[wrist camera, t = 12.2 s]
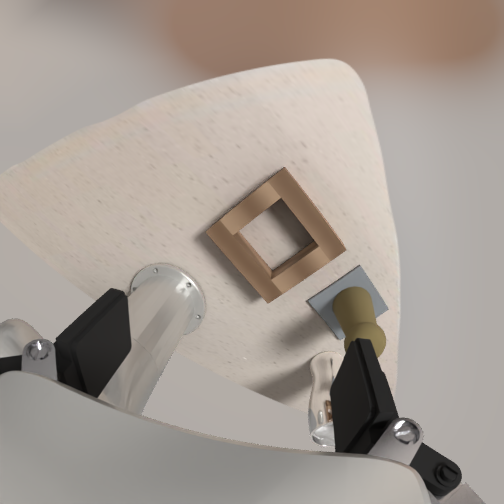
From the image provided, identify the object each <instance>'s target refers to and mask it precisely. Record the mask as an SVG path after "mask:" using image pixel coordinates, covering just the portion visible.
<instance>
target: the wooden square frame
mask: <svg viewBox="0 0 504 504" xmlns="http://www.w3.org/2000/svg"><path fill="white" fill-rule="evenodd" d="M280 198H282V200H283V201H284V202H285V203H286V205H287V206H288V207H289V208H290V210H291V211H292V212H293V213H294V215H295V216H296V217H297V218H298V220H299V221H300V222H301V223H302V225H303V226H304V227H305V229H306V230H307V231H308V233H309V234H310V235H311V236H312V238H313V239H314V240H315V241H314V242H312V243H311V244H310V245H308V246H307V247H305V248H304V249H303V250H301V251H300V252H298V253H297V254H296V255H294V256H293V257H291V258H290V259H289V260H287V261H286V262H284V263H283V264H282V265H280V266H279V267H277V268H276V269H274V270H273V271H272V270H271V269H270V267H269V266H268V265H267V264H266V263H265V262H264V260H263V259H262V258H261V257H260V256H259V254H258V253H257V252H256V251H255V250H254V249H253V247H252V246H251V245H250V244H249V243H248V241H247V240H246V239H245V238H244V237H243V235H242V234H241V233H240V232H239V230H240V229H242V228H243V227H244V226H245V225H247V224H248V223H249V222H251V221H252V220H253V219H254V218H256V217H257V216H258V215H259V214H261V213H262V212H263V211H265V210H266V209H267V208H268V207H270V206H271V205H272V204H274V203H275V202H276V201H277V200H279V199H280ZM206 233H207V235H208V236H209V237H210V238H211V239H212V240H213V241H214V243H215V244H216V245H217V246H218V247H219V248H220V250H221V251H222V252H223V253H224V254H225V255H226V257H227V258H228V259H229V260H230V261H231V262H232V263H233V265H234V266H235V267H236V268H237V269H238V270H239V271H240V273H241V274H242V275H243V276H244V277H245V278H246V279H247V281H248V282H249V283H250V284H251V285H252V286H253V287H254V288H255V290H256V291H257V292H258V293H259V294H260V295H261V296H262V297H263V299H264V300H265V301H266V302H267V303H270V302H271V301H273V300H274V299H276V298H277V297H279V296H280V295H282V294H283V293H285V292H286V291H288V290H289V289H291V288H292V287H294V286H295V285H297V284H298V283H300V282H301V281H303V280H304V279H306V278H307V277H309V276H310V275H311V274H313V273H314V272H316V271H317V270H319V269H320V268H322V267H323V266H325V265H326V264H327V263H329V262H330V261H332V260H333V259H335V258H336V257H337V256H339V255H340V254H342V253H343V252H344V251H346V248H345V246H344V244H343V243H342V241H341V240H340V238H339V237H338V236H337V234H336V233H335V231H334V230H333V229H332V227H331V226H330V225H329V223H328V222H327V221H326V219H325V218H324V217H323V215H322V214H321V213H320V211H319V210H318V209H317V207H316V206H315V205H314V203H313V202H312V201H311V199H310V198H309V197H308V196H307V194H306V193H305V192H304V190H303V189H302V188H301V187H300V185H299V184H298V183H297V181H296V180H295V179H294V178H293V176H292V175H291V174H290V173H289V172H288V170H287V169H286V168H285V167H284V168H283V169H281V170H280V171H279V172H277V173H276V174H275V175H274V176H272V177H271V178H270V179H269V180H267V181H266V182H265V183H264V184H262V185H261V186H260V187H258V188H257V189H256V190H255V191H254V192H252V193H251V194H250V195H249V196H247V197H246V198H245V199H244V200H242V201H241V202H240V203H239V204H237V205H236V206H235V207H234V208H233V209H231V210H230V211H229V212H228V213H227V214H225V215H224V216H223V217H222V218H221V219H219V220H218V221H217V222H216V223H215V224H213V225H212V226H211V227H210V228H209V229H208V230H207V231H206Z"/></svg>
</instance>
